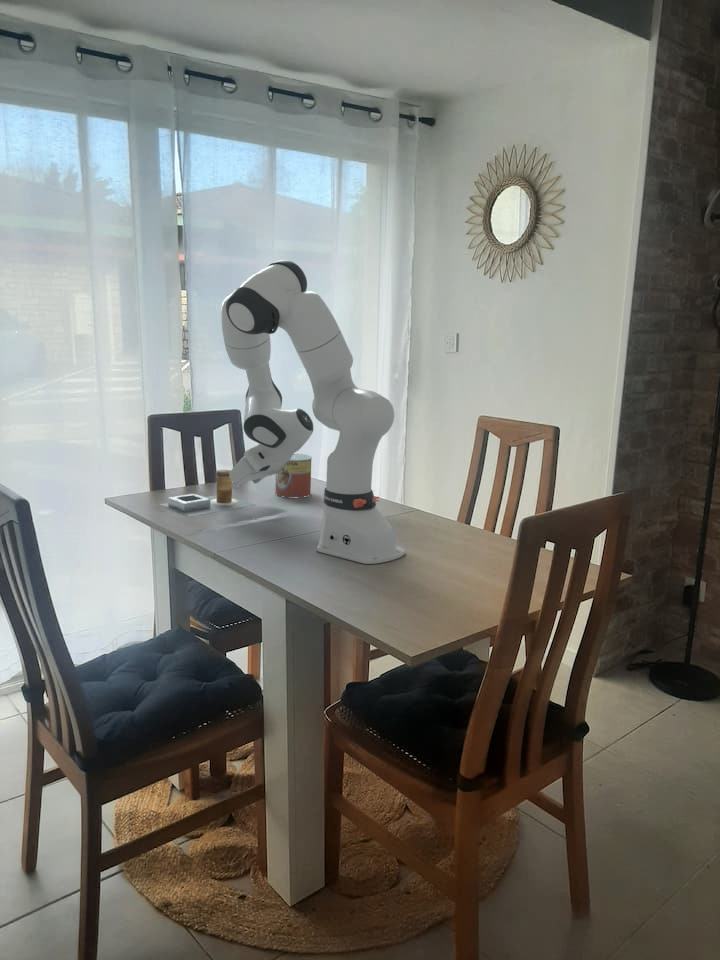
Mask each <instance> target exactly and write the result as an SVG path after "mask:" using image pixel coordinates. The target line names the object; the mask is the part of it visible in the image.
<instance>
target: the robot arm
mask: <svg viewBox="0 0 720 960" xmlns="http://www.w3.org/2000/svg"><path fill="white" fill-rule="evenodd" d="M307 289H308V280H307V277H306V274H305V273H304V271H303V270H302V268H301V267H300V266H299V264H297V263H296V262H293V260H292V261H291V260H288V259H279V260H277V261H274V262H272V263H269V265H267V266H266V268H263V269H261V270H260V271H259V272H257V273H254V274H252V275H251V276H249V277H248V279H246V280H245V281H244V282H243V283H242V284H241V285H240V286H239V287H238V288H236V289H234V290H233V292H232V293H231V294H229V295H228V296H226V298H224V300H223V302H222V303H221V311H220V313H221V315H220V316H221V319H220V320H221V329H222V330H221V331H222V337H223V342H224V346H225V350H226V354H227V357H228V358H229V360H230V363H231V364H232V365H233V366H235V367H236V368H237V369H239V370H240V369H241V370H243V371H244V370H245V373H246V377H247V382H248V387H247V390H246V394H245V408H244V417H243V425H242V427H243V431H244V433H245V435H246V437H248V439H250V440H251V441H254V442H255V443H258V444H257V445H255V446H253V447H251V448H249V449H246V451H244V453H243V455H244V456H243V457H242V458H241V459H240V460H238V461H237V462H236V464H235V465H234V466H233V468H231V471H230V473H229V477H230V478H231V480H232V484H231V487H232V490H237V489H239V488H240V487H241V484H243V483H244V484H245V483H247V482H250V481H252V482H253V483H254V484H258V483H260V482H261V481H262V480H263V479H265V478H267V477H269V476H272V475H276V474H277V473H278V472H280V471H281V470H282V469H283V467H284V466H285V465H286V464H287V463H288V461H289V460H290V459H291V457H292V455H293V454H296V452H298V451H299V450H300V449H302V448H303V446H304V445H305V444H306V443H307V441H309V440H310V438H311V436H312V435H313V432H314V423H313V422H314V421H313V420H312V418H311V416H310V415H309V414H308V413H307V412H306V411H305V410H303V409H302V408H295V409H291V410H290V409H282V405H283V397H282V393H281V391H280V389H279V388H278V387H277V386H276V384H275V383H274V380H273V379H272V374H271V373H272V372H271V370H270V369H271V368H270V363H269V361H270V360H271V351H272V349H271V347H272V346H271V336H270V335H271V334H272V335H273V334H275V333H276V332H277V330H278V328H279V329H282V330H284V331H285V332H286V333H287V335H288V336H289V338H290V340H291V343H292V345H293V347H294V350H295V351H296V353H297V355H298V357H299V359H300V360H301V363H302V365H303V367H304V370H305V371H306V374H307V375H308V378H309V382H310V384H311V387H312V391H313V400H312V404H311V406H312V413H313V415H314V417H315V419H316V420H317V421H318V422H320V423H321V424H322V425H323V426H325V427H327V428H329V429H330V430H334V431H337V432H339V436H338V440H337V444H336V446H335V448H334V450H333V451H332V452H331V453H330V454H329V455H328V456H327V461H326V462H327V463H326V484H325V485H326V487H325V488H324V492H323V503H324V505H325V507H324V512H323V515H322V519H321V526H320V533H319V537H318V541H317V546H316V552H319V553H323V554H327V555H330V556H334V557H337V558H341V559H345V560H348V561H353V562H357V563H361V564H364V565H372V564H373V565H374V564H380V563H381V564H382V563H386V562H390V561H393V560H397V559H399V558H402V557H403V556H404V555H405V554H406V551H405V549H404V548H403V547H401V546H399V545H397V543H396V533H395V530H394V527H393V526H392V525H391V524H390V522H389V521H388V520H387V519H386V518H385V516H384V515H383V514H382V513H381V512H380V511H379V509H378V508H377V507H376V506H377V503H376V502H380V499H379V498H380V496H375V495H374V491H373V490H372V483H373V482H372V481H373V469H374V467H373V466H374V465H373V464H374V459H375V456H376V451H377V449H378V447H379V443H380V441H381V439H382V438H383V437H384V435H386V434H387V433H388V432H389V431H390V430H391V428H392V426H393V424H394V420H395V411H394V407H393V404H392V403H391V402H390V400H389V399H388V398H387V397H385V396H383V395H381V394H379V393H377V391H373V390H368V389H361V388H358V387H357V386H356V385H355V383H354V380H353V378H352V371H351V368H352V367H353V363H354V358H353V355H352V353H351V350H350V348H349V346H348V344H347V342H346V340H345V337H344V335H343V333H342V331H341V329H340V326H339V324H338V323H337V321H336V319H335V317H334V315H333V313H332V312H331V310H330V308H329V307H328V306H327V304H326V303H325V301H324V300H323V299H322V297H321V296H320V295H319V294H318V293H316V292H314V291H307Z"/></svg>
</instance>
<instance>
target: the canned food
mask: <svg viewBox="0 0 720 960" xmlns="http://www.w3.org/2000/svg"><path fill="white" fill-rule="evenodd" d="M312 459H313V458H312V456H311V455H307V454H302V453H294V454H293V455H292V457H291V459H290V460H289V461H288V463H287V464H286V465H285V466H284V467H283V469H282V470H281V471H280V472H278V473H277V474H275V493H276V494H277V495H279V496H284V497H304V496H308V495H310V493H311V486H312V485H311V484H312ZM275 493H274V494H275ZM277 495H276V496H277ZM279 496H278V497H279ZM310 496H311V495H310ZM284 497H283V498H284ZM308 497H309V496H308Z"/></svg>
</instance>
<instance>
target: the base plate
mask: <svg viewBox="0 0 720 960" xmlns="http://www.w3.org/2000/svg"><path fill="white" fill-rule="evenodd" d="M204 497H205V498H208V499H210V508H205V509H199V510H193V511H187V512H183V511H180V510H178V509H175V508H173V507H170V506H168V502H166V503H160V504H159V505H160V506H161V507H165V508H167V509H169V510H172V511H174V512H177V513H179V514H182V515H184V516H187V517H190V518H191V517H196V516H201V515H206V514H213V513H218V512H223V511H231V510H235V509H241V508H246V507H251V506H253V507H254V506H256V504H254V503H253V502H248V501H246V500H243V499H239V498H237V497H234V496H232V502H231V503H218V502H217V494H215V495H209V496H208V495H207V496H204Z"/></svg>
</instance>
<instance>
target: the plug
mask: <svg viewBox="0 0 720 960" xmlns="http://www.w3.org/2000/svg"><path fill="white" fill-rule="evenodd" d="M231 470H232V469H231ZM231 470H229V469H219V470H218V469H217V471H216V495H217V502H218V503H231V502H232V497H233V495H232V494H233V488H232V487H231V484H232V483H233V481H232V480H231V478H230V477H229V473H230V471H231Z"/></svg>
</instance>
